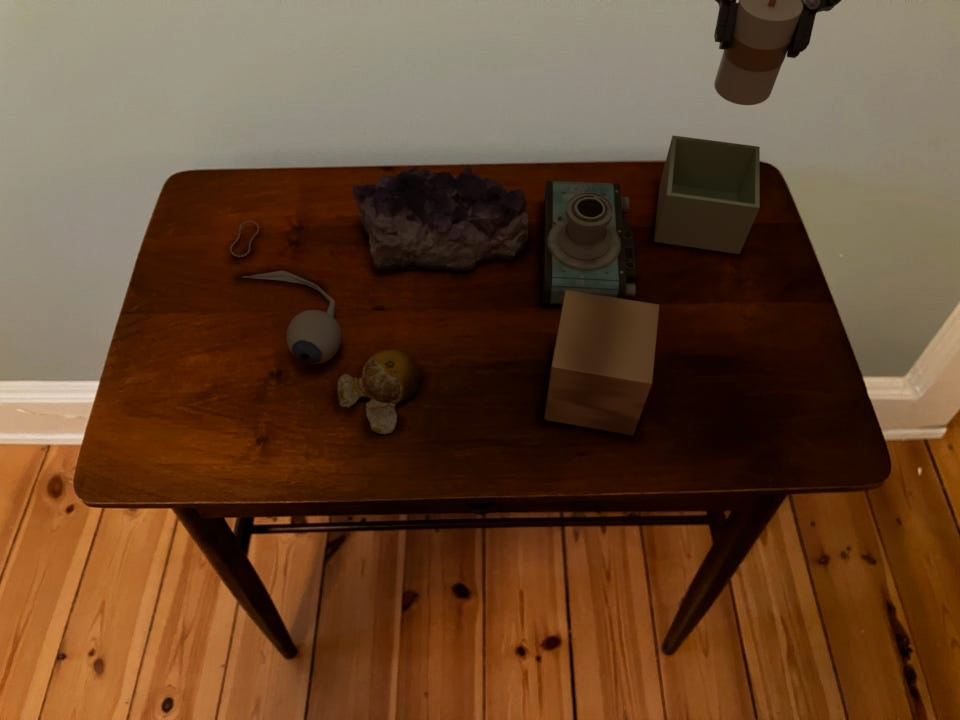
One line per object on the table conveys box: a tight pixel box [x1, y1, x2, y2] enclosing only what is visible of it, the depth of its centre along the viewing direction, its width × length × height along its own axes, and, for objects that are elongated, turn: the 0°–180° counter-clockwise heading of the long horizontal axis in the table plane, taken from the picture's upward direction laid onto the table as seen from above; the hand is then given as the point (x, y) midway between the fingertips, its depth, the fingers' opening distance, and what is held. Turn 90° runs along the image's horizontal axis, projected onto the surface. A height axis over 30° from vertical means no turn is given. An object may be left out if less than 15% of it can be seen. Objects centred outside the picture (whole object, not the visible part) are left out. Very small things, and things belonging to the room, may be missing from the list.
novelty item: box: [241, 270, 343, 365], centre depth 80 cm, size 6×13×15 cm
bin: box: [653, 135, 761, 255], centre depth 87 cm, size 10×10×8 cm
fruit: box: [336, 349, 421, 435], centre depth 75 cm, size 8×8×4 cm
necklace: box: [229, 219, 261, 258], centre depth 87 cm, size 2×5×1 cm, turn 166°
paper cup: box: [713, 0, 803, 106], centre depth 69 cm, size 6×6×13 cm
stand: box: [543, 290, 660, 436], centre depth 72 cm, size 9×9×10 cm
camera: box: [542, 180, 637, 306], centre depth 83 cm, size 16×10×10 cm
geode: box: [352, 165, 530, 272], centre depth 84 cm, size 20×12×10 cm, turn 91°
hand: (758, 51), depth 69 cm, fingers closed on paper cup, 5 cm apart
